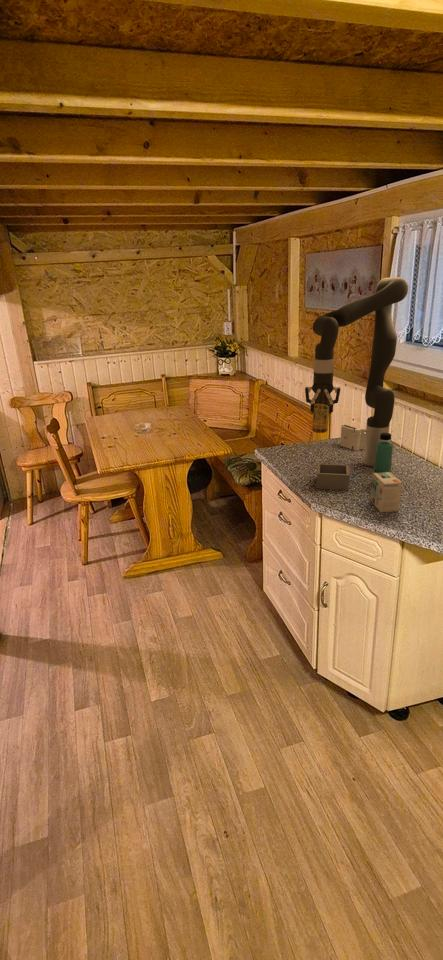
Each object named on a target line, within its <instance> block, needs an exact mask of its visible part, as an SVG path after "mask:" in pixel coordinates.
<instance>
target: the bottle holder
mask: <svg viewBox="0 0 443 960" xmlns="http://www.w3.org/2000/svg"><path fill="white" fill-rule="evenodd" d="M349 466H350V465H349V464H338V463H335V464H334V463H317V470H316V471H317V472H316V489H320V488H321V490H322V489H323V490H324V489H325V490H341V491H342V490H343V491H345V490H346V491H349V486H350V468H349Z"/></svg>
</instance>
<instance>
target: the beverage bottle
mask: <svg viewBox="0 0 443 960" xmlns="http://www.w3.org/2000/svg"><path fill="white" fill-rule="evenodd" d="M380 439H381V440H388V441H380V442H378V443H377V448H376V453H375V455H376V456H375V457H376V458H375V465H374V466H375V467H374V469H373V470H374V471H373V473H384V472H391V473H392V459H393V451H394V450H393V449H394V444H393V443H392V442H391V441H390V440H392V433H390V432H389V433H381V435H380Z"/></svg>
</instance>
